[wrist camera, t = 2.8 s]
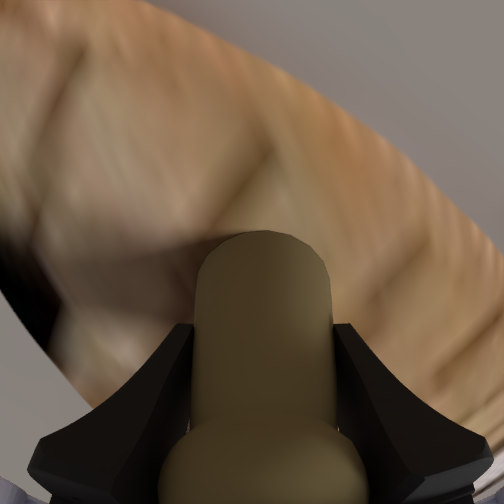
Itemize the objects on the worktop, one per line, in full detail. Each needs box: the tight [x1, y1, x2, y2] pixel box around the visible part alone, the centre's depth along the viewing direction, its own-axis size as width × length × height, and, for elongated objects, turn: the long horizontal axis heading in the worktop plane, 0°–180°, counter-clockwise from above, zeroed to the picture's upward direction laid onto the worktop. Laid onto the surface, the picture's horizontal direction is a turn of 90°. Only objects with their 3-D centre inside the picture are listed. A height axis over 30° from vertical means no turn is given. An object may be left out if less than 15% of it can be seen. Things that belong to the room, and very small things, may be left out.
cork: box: [157, 231, 370, 504], centre depth 10 cm, size 6×6×11 cm
